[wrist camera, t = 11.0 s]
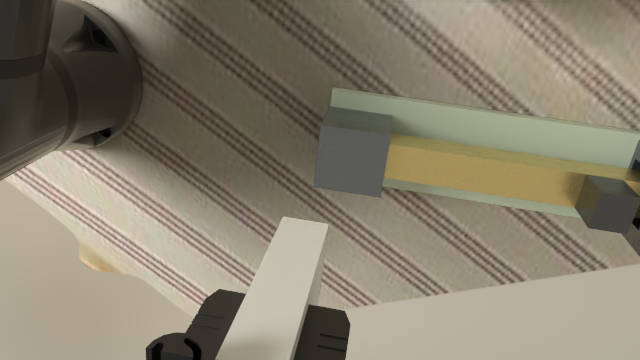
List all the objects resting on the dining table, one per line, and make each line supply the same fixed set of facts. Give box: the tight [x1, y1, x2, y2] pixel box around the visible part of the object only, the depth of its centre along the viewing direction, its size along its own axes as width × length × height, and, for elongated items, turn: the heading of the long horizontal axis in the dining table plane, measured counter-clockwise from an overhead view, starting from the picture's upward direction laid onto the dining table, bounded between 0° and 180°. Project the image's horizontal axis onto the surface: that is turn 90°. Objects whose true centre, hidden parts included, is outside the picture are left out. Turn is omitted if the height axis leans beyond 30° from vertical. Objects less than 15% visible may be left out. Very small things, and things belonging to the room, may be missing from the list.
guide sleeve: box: [314, 106, 393, 198], centre depth 47 cm, size 6×6×6 cm
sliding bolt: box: [384, 133, 640, 234], centre depth 44 cm, size 28×3×7 cm, turn 83°
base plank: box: [330, 87, 640, 219], centre depth 49 cm, size 33×9×1 cm, turn 83°
